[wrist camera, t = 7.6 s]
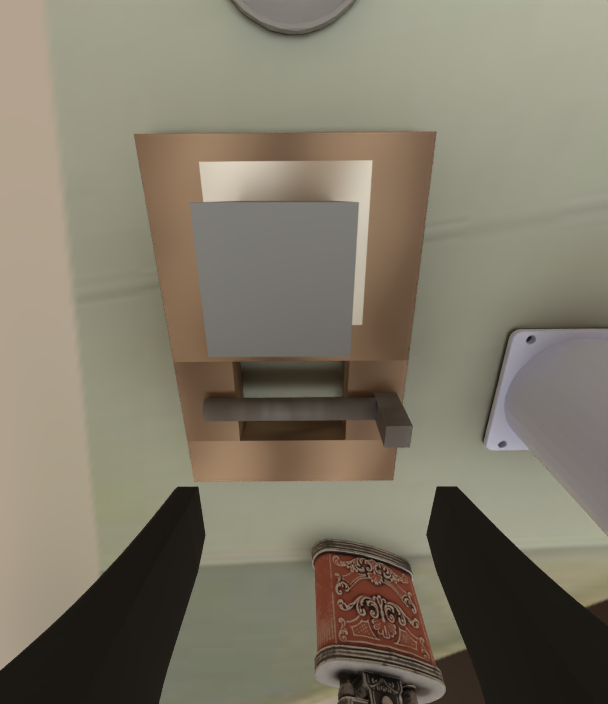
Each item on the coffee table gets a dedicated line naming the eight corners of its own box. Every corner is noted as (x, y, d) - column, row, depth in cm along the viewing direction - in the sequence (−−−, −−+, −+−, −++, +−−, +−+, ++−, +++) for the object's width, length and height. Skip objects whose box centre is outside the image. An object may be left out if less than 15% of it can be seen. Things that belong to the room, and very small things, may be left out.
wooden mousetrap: (420, 139, 16) (469, 114, 11) (385, 457, 23) (406, 522, 18) (153, 141, 16) (91, 117, 11) (203, 459, 23) (178, 524, 18)
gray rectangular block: (331, 294, 16) (350, 356, 10) (245, 294, 16) (208, 356, 10) (334, 200, 15) (359, 202, 8) (239, 200, 15) (189, 202, 8)
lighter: (305, 561, 27) (305, 747, 18) (322, 532, 26) (332, 716, 17) (397, 585, 28) (443, 771, 19) (418, 559, 27) (477, 745, 18)
